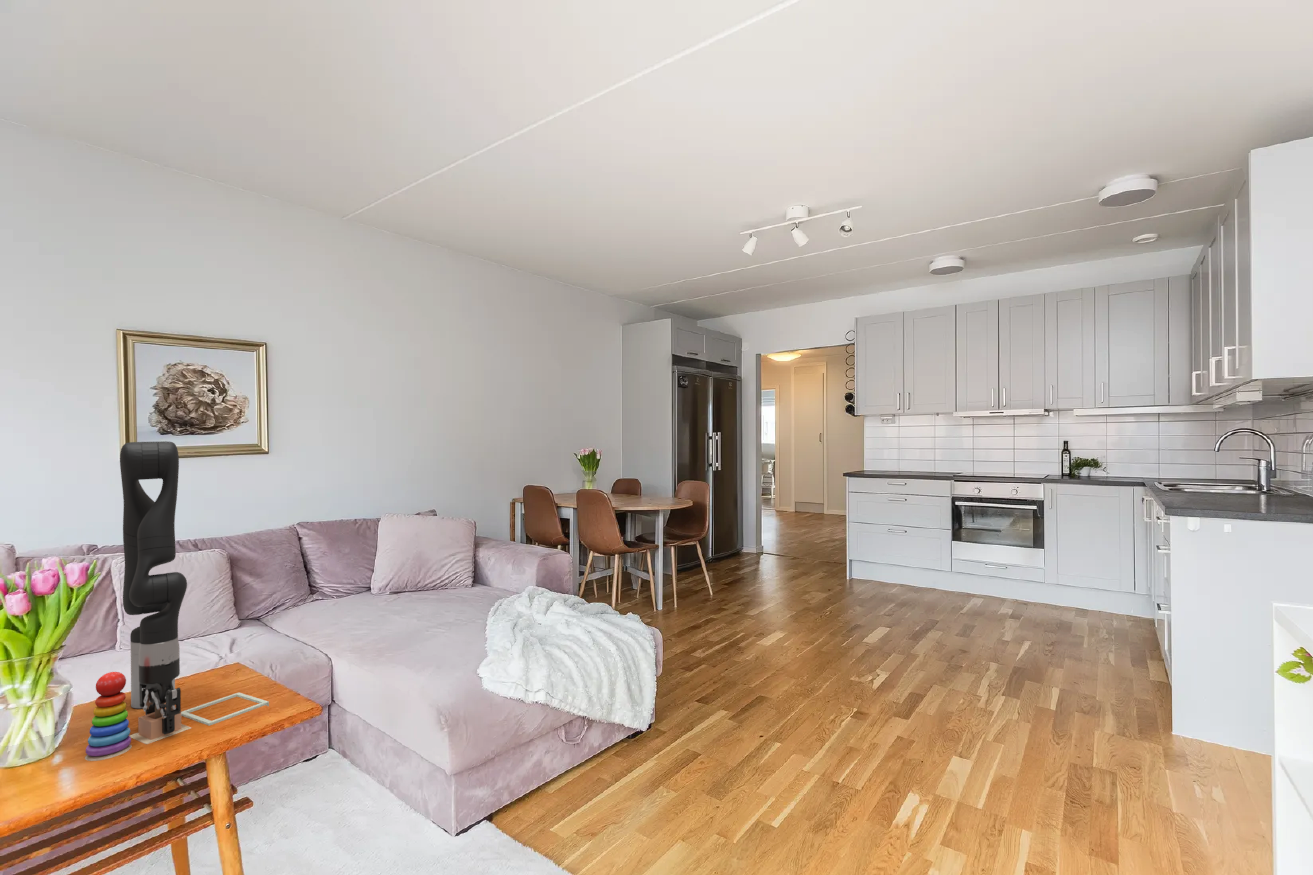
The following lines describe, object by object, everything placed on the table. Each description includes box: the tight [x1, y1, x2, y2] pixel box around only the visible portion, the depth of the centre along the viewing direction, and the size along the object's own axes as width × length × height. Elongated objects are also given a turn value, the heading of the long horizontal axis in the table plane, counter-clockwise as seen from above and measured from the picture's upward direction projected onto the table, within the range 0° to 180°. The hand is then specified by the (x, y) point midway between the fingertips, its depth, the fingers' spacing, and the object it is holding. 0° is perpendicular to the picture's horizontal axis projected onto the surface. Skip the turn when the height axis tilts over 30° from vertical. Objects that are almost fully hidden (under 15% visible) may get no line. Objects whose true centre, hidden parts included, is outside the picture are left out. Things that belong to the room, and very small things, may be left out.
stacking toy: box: [84, 671, 132, 762], centre depth 136 cm, size 8×8×19 cm
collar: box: [137, 708, 182, 740], centre depth 146 cm, size 6×7×4 cm
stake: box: [129, 703, 192, 745], centre depth 146 cm, size 9×9×8 cm
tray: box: [181, 692, 270, 726], centre depth 158 cm, size 14×14×2 cm
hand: (160, 729), depth 146 cm, fingers open, 7 cm apart
